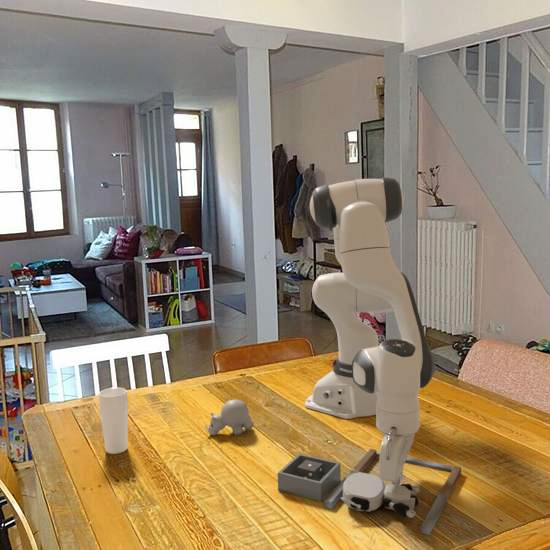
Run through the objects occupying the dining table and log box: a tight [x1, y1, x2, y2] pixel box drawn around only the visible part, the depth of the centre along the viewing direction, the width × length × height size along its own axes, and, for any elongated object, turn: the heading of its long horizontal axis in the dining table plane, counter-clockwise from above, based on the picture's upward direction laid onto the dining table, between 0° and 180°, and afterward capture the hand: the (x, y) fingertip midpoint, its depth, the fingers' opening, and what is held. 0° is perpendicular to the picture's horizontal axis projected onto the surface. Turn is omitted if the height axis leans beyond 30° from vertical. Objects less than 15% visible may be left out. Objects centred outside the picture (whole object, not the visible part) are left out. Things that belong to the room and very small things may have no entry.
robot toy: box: [340, 468, 420, 519], centre depth 120 cm, size 12×4×15 cm
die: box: [297, 460, 323, 481], centre depth 128 cm, size 4×4×4 cm
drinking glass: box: [98, 387, 129, 455], centre depth 146 cm, size 7×7×15 cm
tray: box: [277, 453, 342, 503], centre depth 128 cm, size 10×10×4 cm
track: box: [324, 448, 462, 536], centre depth 126 cm, size 21×28×2 cm
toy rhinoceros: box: [204, 398, 255, 437], centre depth 156 cm, size 7×12×8 cm, turn 100°
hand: (397, 481), depth 126 cm, fingers closed
